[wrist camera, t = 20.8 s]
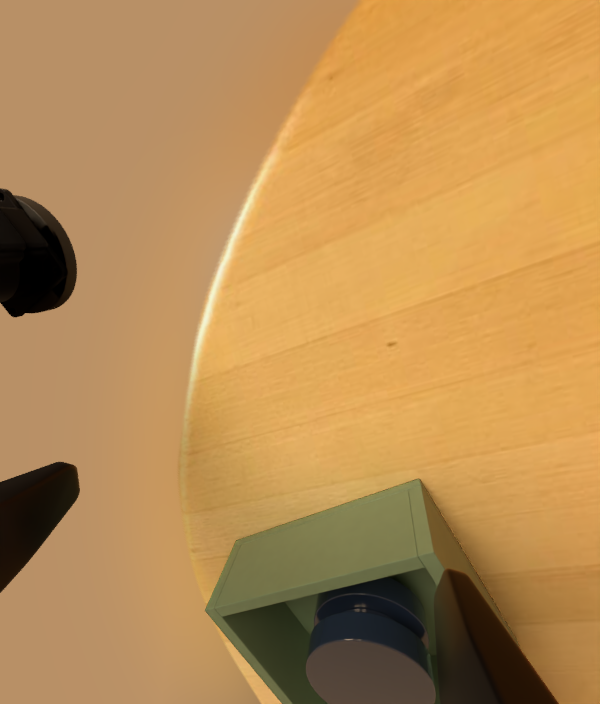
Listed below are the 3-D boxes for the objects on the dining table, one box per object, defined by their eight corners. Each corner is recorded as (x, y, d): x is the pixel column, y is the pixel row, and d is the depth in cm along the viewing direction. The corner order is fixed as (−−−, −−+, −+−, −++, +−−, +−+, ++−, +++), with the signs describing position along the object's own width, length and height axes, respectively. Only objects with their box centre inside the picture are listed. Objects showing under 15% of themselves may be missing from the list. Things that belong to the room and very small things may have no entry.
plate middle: (347, 678, 23) (344, 728, 21) (292, 606, 22) (282, 650, 19) (449, 665, 20) (459, 720, 18) (394, 582, 19) (397, 630, 17)
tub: (333, 668, 28) (325, 757, 23) (235, 540, 25) (204, 610, 20) (517, 640, 23) (555, 746, 18) (419, 477, 20) (434, 551, 15)
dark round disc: (350, 638, 25) (348, 679, 23) (300, 571, 24) (292, 606, 22) (442, 622, 23) (450, 665, 20) (392, 545, 22) (395, 582, 19)
